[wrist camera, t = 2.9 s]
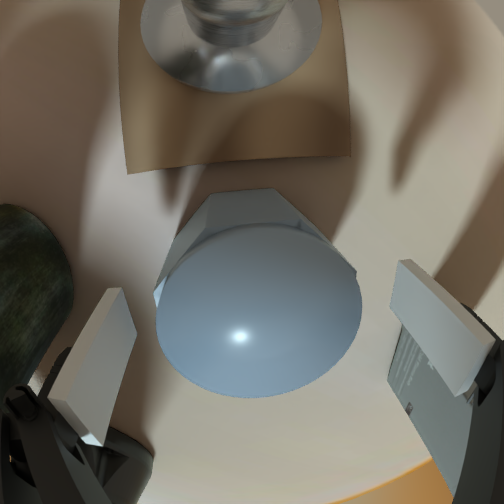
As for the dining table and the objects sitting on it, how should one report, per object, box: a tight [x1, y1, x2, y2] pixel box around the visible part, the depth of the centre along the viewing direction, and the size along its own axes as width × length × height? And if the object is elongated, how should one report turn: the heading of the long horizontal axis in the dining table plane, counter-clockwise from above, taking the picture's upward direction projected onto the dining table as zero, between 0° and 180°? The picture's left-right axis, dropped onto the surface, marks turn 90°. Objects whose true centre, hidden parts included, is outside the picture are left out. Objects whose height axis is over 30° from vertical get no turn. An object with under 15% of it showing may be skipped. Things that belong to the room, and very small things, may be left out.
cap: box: [153, 188, 362, 398], centre depth 14 cm, size 8×8×7 cm
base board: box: [118, 0, 351, 174], centre depth 11 cm, size 12×16×1 cm
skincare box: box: [387, 325, 477, 497], centre depth 16 cm, size 8×7×16 cm
